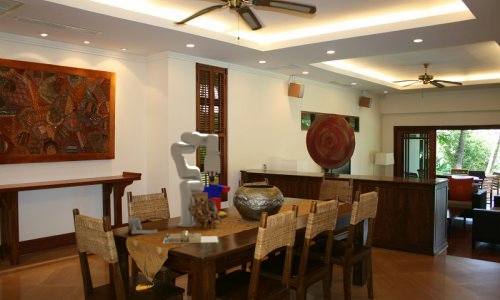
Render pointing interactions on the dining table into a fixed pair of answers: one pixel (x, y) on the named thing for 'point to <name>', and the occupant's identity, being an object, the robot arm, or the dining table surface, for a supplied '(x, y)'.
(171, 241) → the frame leaf
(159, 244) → the dining table surface
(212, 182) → the figurine
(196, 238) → the door leaf
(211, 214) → the decorative coral sculpture
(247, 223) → the dining table surface
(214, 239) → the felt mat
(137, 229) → the door handle
